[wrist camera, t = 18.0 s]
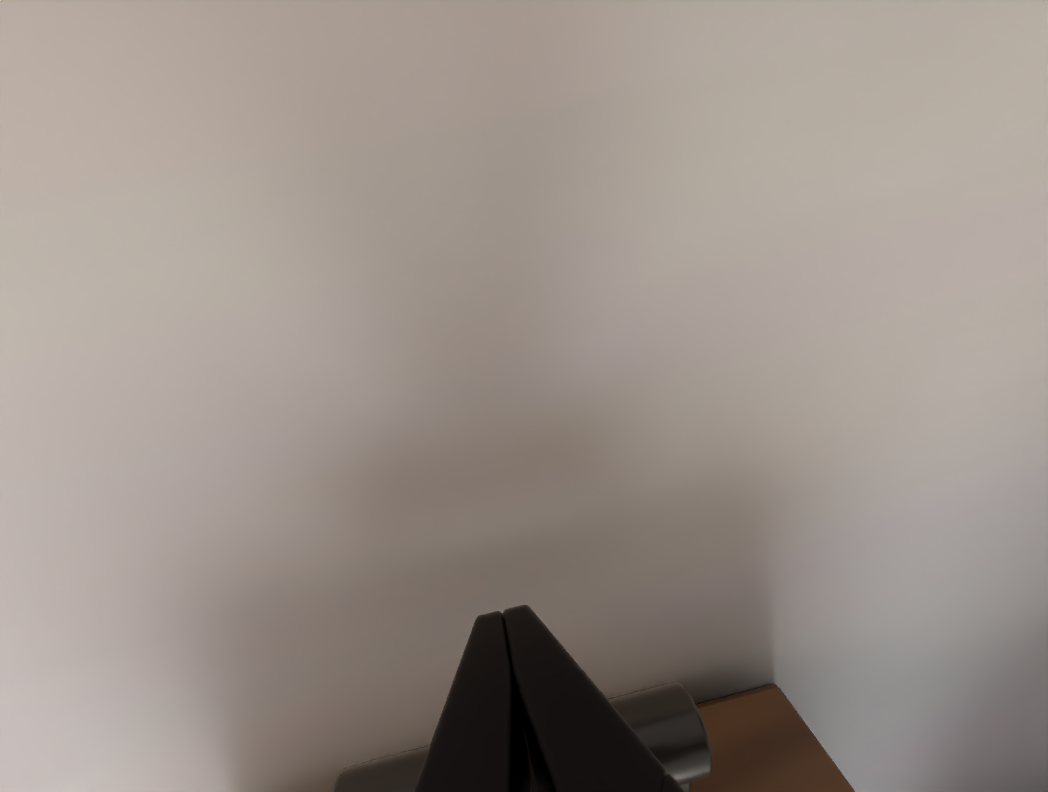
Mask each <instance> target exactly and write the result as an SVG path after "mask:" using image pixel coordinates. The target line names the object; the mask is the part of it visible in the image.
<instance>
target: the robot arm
mask: <svg viewBox="0 0 1048 792" xmlns="http://www.w3.org/2000/svg"><path fill="white" fill-rule="evenodd" d="M503 617H504V618H503ZM524 731H525V732H524ZM525 736H526V737H525ZM526 741H527V743H526ZM527 746H528V749H527ZM528 751H529V756H530V761H531V765H532V769H533V772H534V776H535V780H536V783H537V787H538V790H539V792H685V791H684V789H683V788H682V787H681V786H680V785H679V783H678V782H677V781H676V780H675V779H674V778H673V776H672V775H671V774H669V773H667V774H666V769H665V767H664V766H663V765H662V764H661V763H660V761H659V760H658V759H657V758H656V757H655V755H654V754H653V753H652V752H651V751H650V749H649V748H648V747H647V746H646V745H645V744H644V742H643V741H642V740H641V739H640V738H639V736H638V735H637V734H636V733H635V732H634V730H633V729H632V728H631V727H630V726H629V725H628V723H627V722H626V721H625V720H624V719H623V717H622V716H621V715H620V714H619V713H618V711H617V710H616V709H615V708H614V707H613V706H612V704H611V703H610V702H609V701H608V700H607V698H606V697H605V696H604V695H603V694H602V693H601V691H600V690H599V689H598V688H597V687H596V685H595V684H594V683H593V682H592V681H591V679H590V678H589V677H588V676H587V675H586V674H585V672H584V671H583V670H582V669H581V668H580V666H579V665H578V664H577V663H576V662H575V660H574V659H573V658H572V657H571V656H570V655H569V653H568V652H567V651H566V650H565V649H564V647H563V646H562V645H561V644H560V643H559V641H558V640H557V639H556V638H555V637H554V636H553V634H552V633H551V632H550V631H549V630H548V628H547V627H546V626H545V625H544V624H543V622H542V621H541V620H540V619H539V618H538V617H537V615H536V614H535V613H534V612H533V611H532V609H531V608H530V607H529V606H527V605H521V606H517V607H513V608H508V609H506V610H505V611H504V612H503V614H502V613H501V612H500V611H496V612H491V613H487V614H483V615H479V616H478V617H477V618H476V620H475V623H474V626H473V628H472V631H471V634H470V637H469V639H468V642H467V645H466V648H465V650H464V653H463V656H462V659H461V661H460V664H459V667H458V670H457V672H456V675H455V678H454V681H453V684H452V686H451V689H450V692H449V695H448V697H447V700H446V703H445V706H444V708H443V711H442V714H441V717H440V719H439V722H438V725H437V728H436V730H435V733H434V736H433V739H432V742H431V744H430V747H429V750H428V753H427V755H426V758H425V761H424V764H423V766H422V769H421V772H420V775H419V777H418V780H417V783H416V786H415V788H414V791H413V792H532V785H531V774H530V763H529V756H528Z"/></svg>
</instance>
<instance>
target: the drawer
mask: <svg viewBox="0 0 1048 792" xmlns="http://www.w3.org/2000/svg"><path fill="white" fill-rule="evenodd" d="M608 701H609V702H610V703H611V704H612V706H613V707H614V708H615V709H616V710H617V711H618V713H619V714H620V715H621V716H622V717H623V719H624V720H625V721H626V722H627V723H628V725H629V726H630V727H631V728H632V729H633V730H634V732H635V733H636V734H637V735H638V736H639V738H640V739H641V740H642V741H643V742H644V744H645V745H646V746H647V747H648V748H649V749H650V751H651V752H652V753H653V754H654V755H655V757H656V758H657V759H658V760H659V761H660V763H661V764H662V765H663V766H664V767H665V769H666V774H667V773H669V774H671V775H672V776H673V778H674V779H675V780H676V781H677V782H678V783H679V785H680V786H681V787H682V788H683V789H684V791H685V792H855V791H854V789H853V788H852V787H851V785H850V784H849V783H848V781H847V780H846V778H845V777H844V776H843V774H842V773H841V772H840V770H839V769H838V767H837V766H836V765H835V763H834V762H833V761H832V759H831V758H830V756H829V755H828V754H827V752H826V751H825V750H824V748H823V747H822V746H821V744H820V743H819V741H818V740H817V739H816V737H815V736H814V735H813V733H812V732H811V730H810V729H809V728H808V726H807V725H806V724H805V722H804V721H803V719H802V718H801V717H800V715H799V714H798V713H797V711H796V710H795V708H794V707H793V706H792V704H791V703H790V702H789V700H788V699H787V697H786V696H785V695H784V693H783V692H782V691H781V689H780V688H779V687H775V688H771V689H768V690H764V691H760V692H756V693H753V694H749V695H745V696H741V697H738V698H734V699H730V700H726V701H723V702H719V703H715V704H711V705H708V706H704V707H700V708H697V707H696V705H695V703H694V701H693V699H692V697H691V696H690V694H689V693H688V691H687V690H686V688H685V687H684V686H683V685H682V684H680V683H676V682H674V683H670V684H666V685H662V686H658V687H654V688H651V689H647V690H643V691H639V692H635V693H631V694H627V695H624V696H620V697H616V698H612V699H608ZM524 732H525V731H524ZM525 737H526V736H525ZM526 743H527V741H526ZM429 747H430V746H427V747H423V748H419V749H415V750H411V751H408V752H404V753H400V754H396V755H392V756H388V757H384V758H381V759H377V760H373V761H369V762H365V763H361V764H357V765H354V766H350V767H346V768H344V769H343V770H342V771H340V772H339V774H338V775H337V778H336V780H335V783H334V787H333V791H332V792H413V791H414V788H415V786H416V783H417V780H418V777H419V775H420V772H421V769H422V766H423V764H424V761H425V758H426V755H427V753H428V750H429ZM527 749H528V746H527ZM528 756H529V751H528ZM529 763H530V774H531V785H532V792H539V790H538V787H537V783H536V780H535V776H534V772H533V769H532V765H531V761H530V756H529Z"/></svg>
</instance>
